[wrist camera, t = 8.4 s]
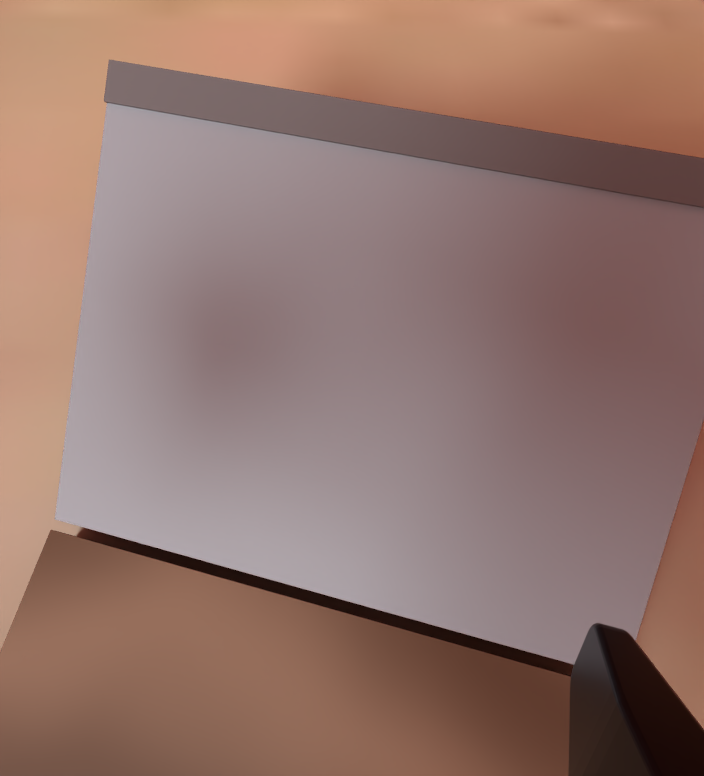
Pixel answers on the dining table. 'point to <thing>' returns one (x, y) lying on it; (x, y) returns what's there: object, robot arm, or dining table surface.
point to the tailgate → (388, 354)
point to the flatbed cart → (250, 683)
